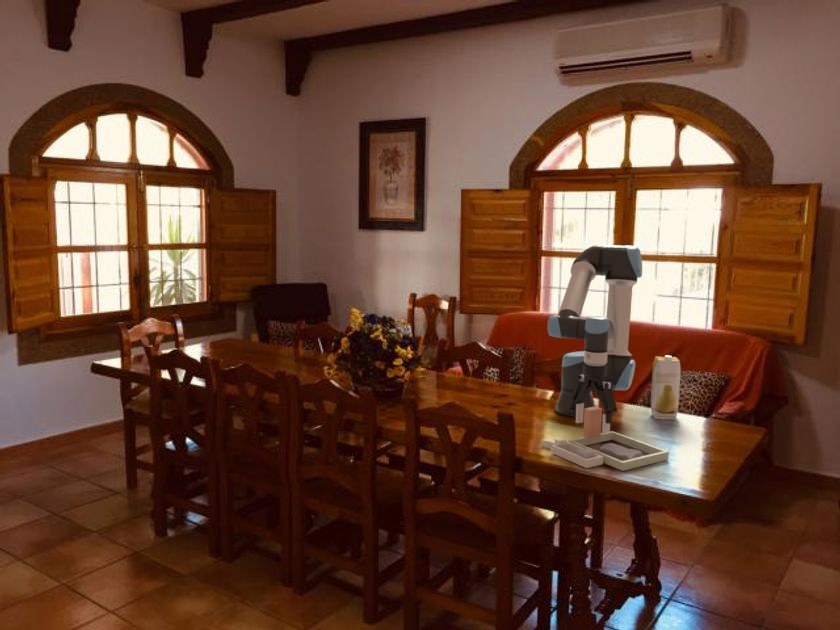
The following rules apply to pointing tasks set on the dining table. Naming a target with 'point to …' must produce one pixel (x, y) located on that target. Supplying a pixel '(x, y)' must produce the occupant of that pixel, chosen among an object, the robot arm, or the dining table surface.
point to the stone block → (619, 452)
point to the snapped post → (548, 443)
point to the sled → (563, 446)
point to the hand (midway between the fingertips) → (592, 427)
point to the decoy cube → (585, 453)
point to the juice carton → (665, 387)
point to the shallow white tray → (595, 436)
